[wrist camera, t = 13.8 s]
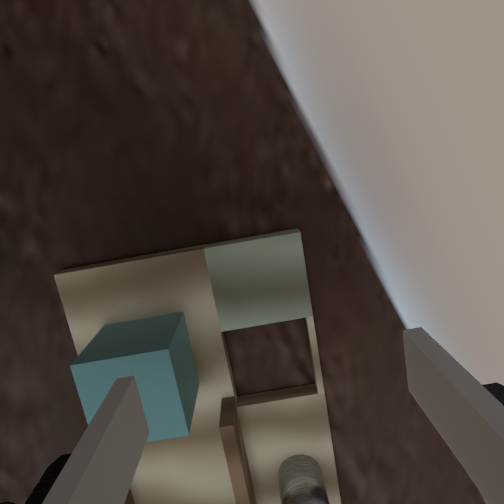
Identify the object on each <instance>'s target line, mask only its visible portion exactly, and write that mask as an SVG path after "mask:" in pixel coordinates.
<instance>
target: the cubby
mask: <svg viewBox="0 0 504 504" xmlns="http://www.w3.org/2000/svg"><path fill="white" fill-rule="evenodd" d="M219 430H220V434H221V439H222V443H223V448H224V452H225V457H226V461H227V466H228V470H229V475H230V479H231V484H232V488H233V493H234V497H235V502H236V504H257V503H256V498H255V493H254V488H253V483H252V479H251V474H250V469H249V464H248V459H247V455H246V450H245V445H244V440H243V435H242V431H241V426H240V421H239V416H238V411H237V407H236V402H235V397H234V396H232V397H226V398H222V401H221V411H220V422H219ZM124 504H135V503H134V499H133V496H132V493H131V489H129V492H128V495H127V497H126V500H125V503H124Z"/></svg>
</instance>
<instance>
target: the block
mask: <svg viewBox="0 0 504 504" xmlns="http://www.w3.org/2000/svg"><path fill="white" fill-rule="evenodd" d="M70 367H71V371H72V374H73V377H74V381H75V384H76V387H77V390H78V394H79V397H80V400H81V403H82V407H83V410H84V413H85V417H86V420H87V423H88V425H89V424H90V422H91V420H92V419H93V417H94V415H95V414H96V412H97V410H98V409H99V407H100V405H101V404H102V402H103V400H104V399H105V397H106V395H107V394H108V392H109V390H110V389H111V387H112V385H113V384H114V382H115V380H116V379H117V378H123V377H128V376H135V380H136V383H137V387H138V391H139V395H140V398H141V402H142V406H143V410H144V413H145V417H146V421H147V425H148V428H149V432H150V433H149V436H148V438H147V441H146V442H151V441H157V440H164V439H170V438H176V437H182V436H188V435H189V433H190V428H191V423H192V418H193V413H194V408H195V403H196V398H197V393H198V388H199V379H198V374H197V370H196V366H195V361H194V357H193V352H192V348H191V343H190V339H189V335H188V330H187V326H186V321H185V317H184V312H178V313H172V314H167V315H161V316H155V317H149V318H143V319H137V320H131V321H125V322H119V323H114V324H108V325H104V326H103V327H102V328H101V329H100V331H99V332H98V333H97V334H96V335H95V337H94V338H93V339H92V340H91V341H90V342H89V344H88V345H87V346H86V347H85V348H84V350H83V351H82V352H81V353H80V354H79V355H78V357H77V358H76V359H75V360H74V361H73V363H72V364H71V365H70Z"/></svg>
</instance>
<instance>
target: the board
mask: <svg viewBox="0 0 504 504" xmlns="http://www.w3.org/2000/svg"><path fill="white" fill-rule="evenodd" d="M54 278H55V281H56V285H57V288H58V291H59V295H60V298H61V301H62V304H63V308H64V311H65V314H66V318H67V321H68V324H69V328H70V331H71V334H72V338H73V341H74V344H75V348H76V351H77V354H78V355H79V354H80V353H81V352H82V351H83V350H84V348H85V347H86V346H87V345H88V344H89V342H90V341H91V340H92V339H93V338H94V337H95V335H96V334H97V333H98V332H99V331H100V329H101V328H102V327H103V326H104V325H108V324H114V323H119V322H125V321H131V320H137V319H143V318H149V317H155V316H161V315H167V314H172V313H178V312H184V317H185V321H186V326H187V330H188V335H189V339H190V343H191V348H192V352H193V357H194V361H195V366H196V370H197V374H198V379H199V388H198V393H197V398H196V403H195V408H194V413H193V418H192V423H191V428H190V433H189V435H188V436H182V437H176V438H170V439H164V440H157V441H151V442H146V444H145V447H144V450H143V452H142V455H141V458H140V461H139V464H138V467H137V469H136V472H135V475H134V478H133V481H132V483H131V486H130V489H131V493H132V496H133V499H134V503H135V504H236V502H235V497H234V493H233V488H232V484H231V479H230V475H229V470H228V466H227V461H226V457H225V452H224V448H223V443H222V439H221V434H220V430H219V422H220V411H221V401H222V398H226V397H232V396H234V397H235V402H236V407H237V411H238V416H239V421H240V426H241V431H242V435H243V440H244V445H245V450H246V455H247V459H248V464H249V469H250V474H251V479H252V483H253V488H254V493H255V498H256V503H257V504H281V499H280V489H279V480H278V470H279V467H280V465H281V464H282V462H283V461H284V460H286V459H287V458H289V457H291V456H294V455H308V456H310V457H312V458H314V459H315V460H316V461H317V462H318V463H319V465H320V467H321V470H322V475H323V479H324V483H325V487H326V491H327V495H328V499H329V503H330V504H341V499H340V492H339V486H338V479H337V472H336V466H335V459H334V452H333V446H332V439H331V433H330V426H329V419H328V413H327V406H326V399H325V393H324V386H323V379H322V373H321V366H320V359H319V353H318V346H317V339H316V333H315V326H314V319H313V313H312V306H311V299H310V293H309V286H308V279H307V273H306V266H305V259H304V253H303V246H302V239H301V233H300V231H299V229H298V228H296V229H290V230H285V231H279V232H273V233H268V234H262V235H256V236H250V237H245V238H239V239H233V240H228V241H222V242H216V243H211V244H205V245H199V246H194V247H188V248H182V249H177V250H171V251H165V252H160V253H154V254H148V255H142V256H137V257H131V258H125V259H120V260H114V261H108V262H103V263H97V264H91V265H86V266H80V267H74V268H69V269H63V270H61V271H60V272H58V273H56V274H55V275H54ZM299 318H305V322H306V329H307V335H308V342H309V348H310V355H311V361H312V368H313V374H314V380H315V383H314V384H308V385H302V386H296V387H290V388H284V389H278V390H272V391H266V392H260V393H254V394H248V395H242V396H237V394H236V389H235V384H234V379H233V375H232V370H231V365H230V360H229V355H228V350H227V346H226V341H225V336H224V331H229V330H235V329H241V328H247V327H252V326H258V325H264V324H270V323H276V322H282V321H288V320H293V319H299Z"/></svg>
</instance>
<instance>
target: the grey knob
mask: <svg viewBox="0 0 504 504" xmlns="http://www.w3.org/2000/svg"><path fill="white" fill-rule="evenodd" d="M278 480H279V489H280V499H281V504H330V503H329V499H328V495H327V491H326V487H325V483H324V479H323V475H322V470H321V467H320V465H319V463H318V462H317V461H316V460H315V459H314V458H312V457H310V456H308V455H294V456H291V457H289V458H287V459H286V460H284V461H283V462H282V464H281V465H280V467H279V470H278Z"/></svg>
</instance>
